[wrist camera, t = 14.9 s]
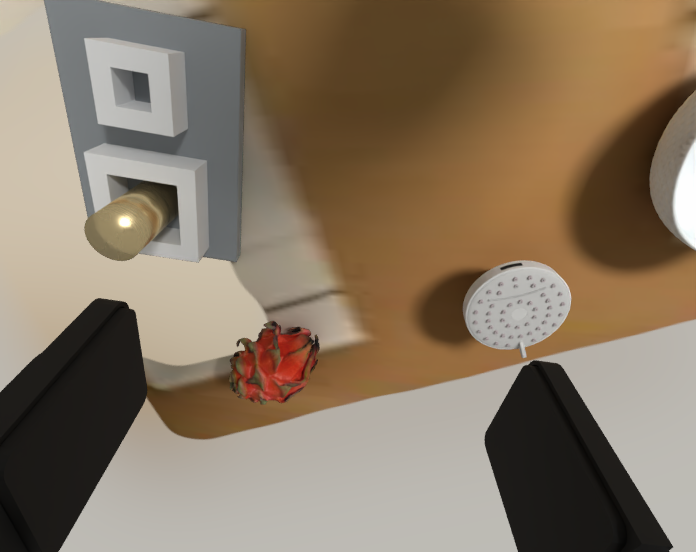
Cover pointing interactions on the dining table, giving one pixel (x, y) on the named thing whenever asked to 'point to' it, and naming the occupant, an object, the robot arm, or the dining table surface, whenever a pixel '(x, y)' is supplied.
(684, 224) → the cereal bowl
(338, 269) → the dining table surface
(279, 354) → the dragon fruit
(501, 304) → the showerhead
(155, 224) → the gold rounded cylinder
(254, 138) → the dining table surface
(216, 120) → the socket board
